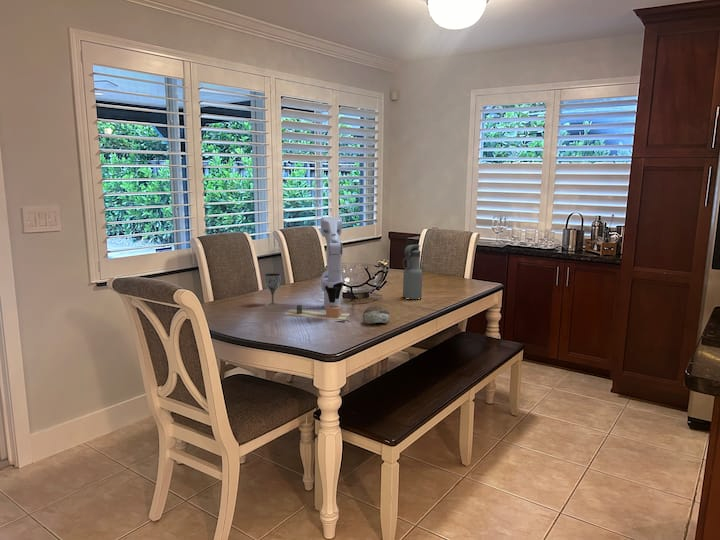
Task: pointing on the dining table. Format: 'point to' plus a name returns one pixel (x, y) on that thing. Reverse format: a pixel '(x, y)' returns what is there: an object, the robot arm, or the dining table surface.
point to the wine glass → (272, 284)
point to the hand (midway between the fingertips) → (334, 300)
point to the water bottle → (412, 273)
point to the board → (314, 314)
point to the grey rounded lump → (376, 315)
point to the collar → (333, 311)
